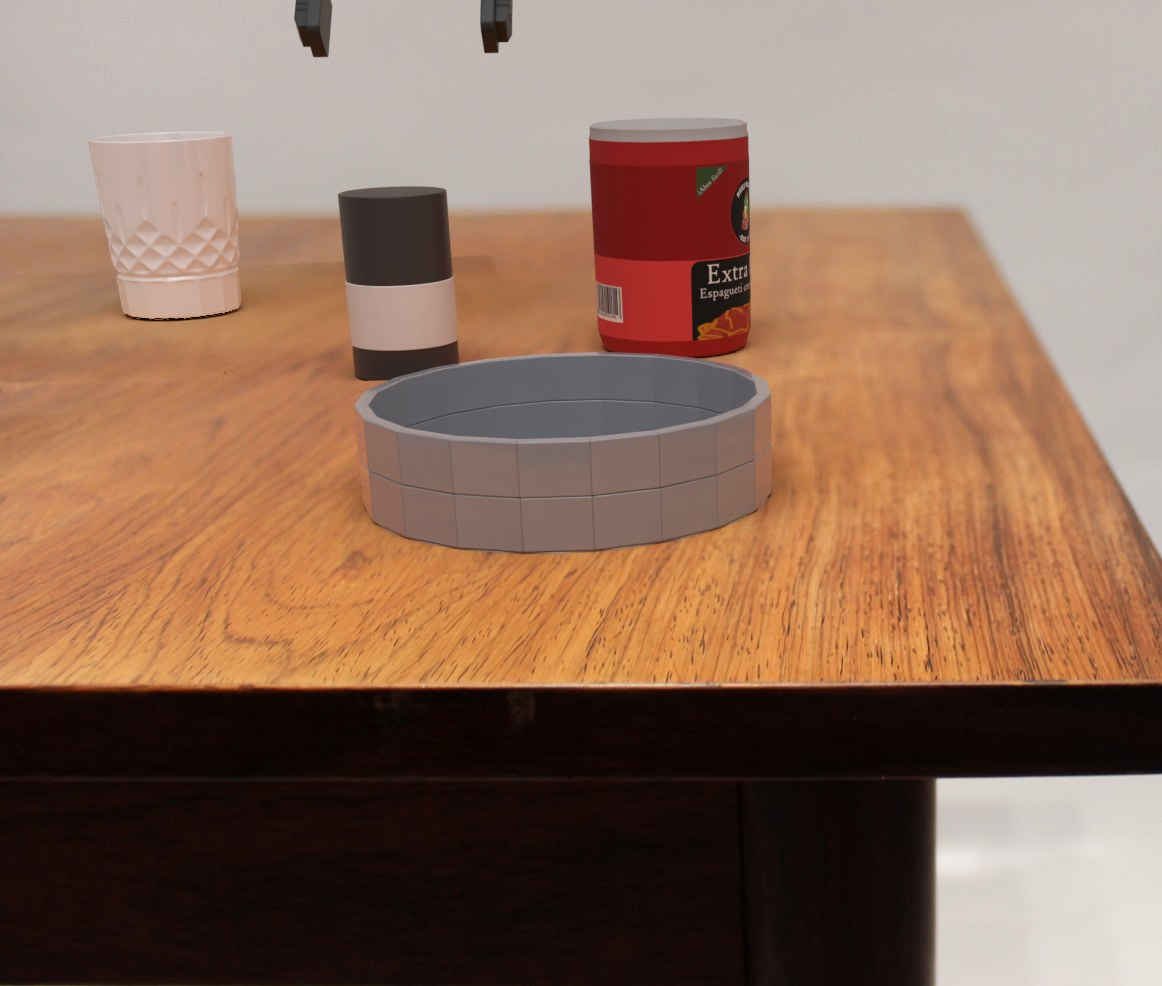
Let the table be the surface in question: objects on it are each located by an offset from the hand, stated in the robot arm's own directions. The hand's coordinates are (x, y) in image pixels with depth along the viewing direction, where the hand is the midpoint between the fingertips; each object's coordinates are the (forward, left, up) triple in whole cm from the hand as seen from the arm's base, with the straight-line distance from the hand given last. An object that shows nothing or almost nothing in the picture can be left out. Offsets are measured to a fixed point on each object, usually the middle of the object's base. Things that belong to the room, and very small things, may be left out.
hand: (402, 43), depth 83 cm
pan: (+9, -32, -15) cm, 36 cm away
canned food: (+13, -3, -15) cm, 20 cm away
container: (0, -8, -15) cm, 17 cm away
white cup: (-16, +12, -15) cm, 25 cm away
